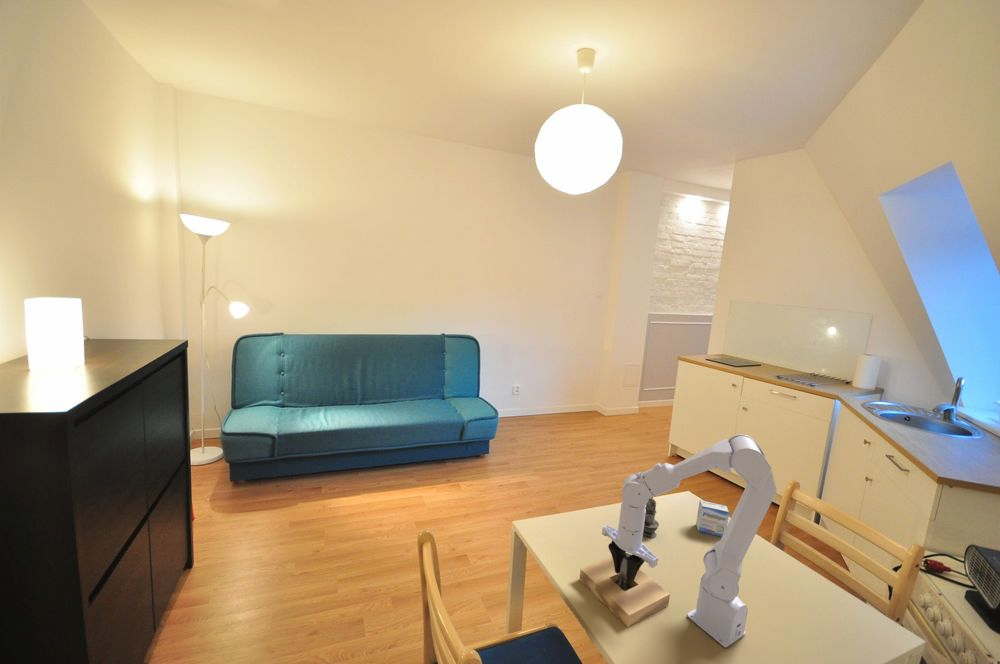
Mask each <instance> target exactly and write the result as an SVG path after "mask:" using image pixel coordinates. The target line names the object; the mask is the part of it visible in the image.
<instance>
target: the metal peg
mask: <svg viewBox="0 0 1000 664" xmlns="http://www.w3.org/2000/svg"><path fill="white" fill-rule="evenodd" d="M630 555H632V554H631V553H629V552H626V553H623V554H622V555H621V561H620V568H619V576H618V583H617V585H618V586H619V587H620V588H621V589H622V590H623V591H627V590H629V589H630V584H631V582H630V583H629V582H628V581H627V574H628V563H627V557H629V556H630Z"/></svg>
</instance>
